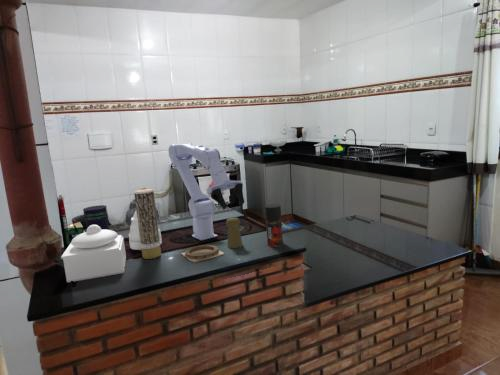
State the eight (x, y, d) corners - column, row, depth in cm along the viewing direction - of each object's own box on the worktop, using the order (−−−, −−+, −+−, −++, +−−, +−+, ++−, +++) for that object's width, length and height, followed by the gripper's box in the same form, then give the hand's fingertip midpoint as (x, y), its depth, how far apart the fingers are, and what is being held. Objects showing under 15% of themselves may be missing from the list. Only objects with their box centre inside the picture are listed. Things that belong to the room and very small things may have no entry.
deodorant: (265, 246, 137) (262, 207, 135) (270, 241, 142) (267, 204, 140) (280, 247, 135) (277, 207, 132) (285, 242, 140) (282, 204, 138)
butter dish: (124, 273, 121) (117, 227, 119) (65, 283, 116) (57, 235, 114) (126, 257, 138) (120, 216, 135) (75, 265, 133) (68, 223, 131)
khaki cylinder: (240, 248, 137) (238, 219, 135) (225, 248, 138) (222, 220, 137) (244, 243, 143) (242, 216, 141) (229, 243, 144) (227, 216, 143)
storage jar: (91, 244, 157) (86, 211, 155) (84, 240, 164) (79, 208, 162) (114, 239, 163) (110, 206, 161) (106, 235, 171) (102, 204, 169)
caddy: (180, 254, 135) (180, 250, 135) (209, 246, 141) (209, 242, 141) (194, 263, 125) (193, 258, 125) (224, 254, 131) (224, 249, 131)
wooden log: (164, 253, 137) (157, 188, 134) (154, 260, 131) (146, 192, 127) (149, 253, 140) (141, 189, 136) (138, 259, 133) (130, 192, 130)
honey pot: (168, 242, 151) (163, 200, 149) (140, 251, 142) (134, 207, 139) (151, 238, 160) (146, 198, 157) (124, 246, 151) (118, 204, 148)
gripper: (205, 173, 132) (220, 204, 127) (238, 166, 140) (254, 195, 134) (200, 183, 137) (214, 214, 132) (232, 177, 145) (247, 205, 140)
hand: (234, 205), depth 134 cm, fingers open, 7 cm apart
